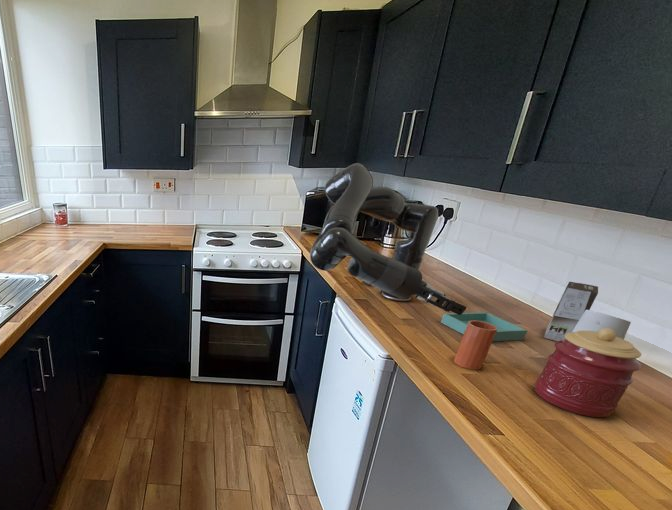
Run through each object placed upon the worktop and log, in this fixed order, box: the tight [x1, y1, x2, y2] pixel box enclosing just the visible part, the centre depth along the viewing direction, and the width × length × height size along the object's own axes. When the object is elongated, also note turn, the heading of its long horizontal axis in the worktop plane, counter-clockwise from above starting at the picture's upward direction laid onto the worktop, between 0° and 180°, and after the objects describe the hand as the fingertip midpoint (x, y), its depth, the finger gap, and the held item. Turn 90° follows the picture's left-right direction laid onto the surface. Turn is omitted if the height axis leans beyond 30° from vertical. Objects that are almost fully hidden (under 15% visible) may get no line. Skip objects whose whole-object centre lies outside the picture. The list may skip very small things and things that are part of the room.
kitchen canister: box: [534, 328, 642, 418], centre depth 85 cm, size 13×13×18 cm
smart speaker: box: [572, 309, 632, 340], centre depth 104 cm, size 10×9×14 cm
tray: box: [440, 311, 528, 342], centre depth 122 cm, size 14×16×3 cm
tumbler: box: [453, 320, 497, 371], centre depth 101 cm, size 6×6×11 cm
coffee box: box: [543, 281, 599, 342], centre depth 117 cm, size 9×6×16 cm
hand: (452, 304), depth 96 cm, fingers open, 8 cm apart
